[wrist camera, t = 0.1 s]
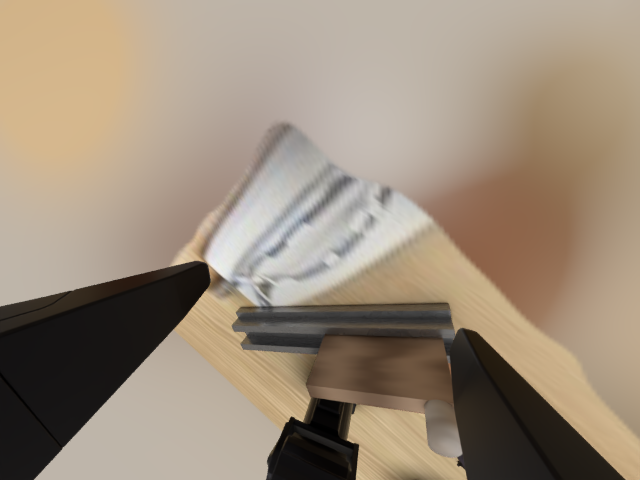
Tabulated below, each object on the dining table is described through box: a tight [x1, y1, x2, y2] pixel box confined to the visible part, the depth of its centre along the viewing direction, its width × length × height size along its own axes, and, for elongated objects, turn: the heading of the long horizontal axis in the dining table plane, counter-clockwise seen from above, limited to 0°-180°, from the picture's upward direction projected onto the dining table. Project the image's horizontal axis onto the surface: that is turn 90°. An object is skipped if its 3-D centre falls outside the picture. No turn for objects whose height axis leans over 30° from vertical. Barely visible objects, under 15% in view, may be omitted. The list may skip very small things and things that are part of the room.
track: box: [232, 304, 455, 363], centre depth 27 cm, size 26×6×2 cm, turn 106°
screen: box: [306, 334, 462, 458], centre depth 21 cm, size 12×2×9 cm, turn 106°
